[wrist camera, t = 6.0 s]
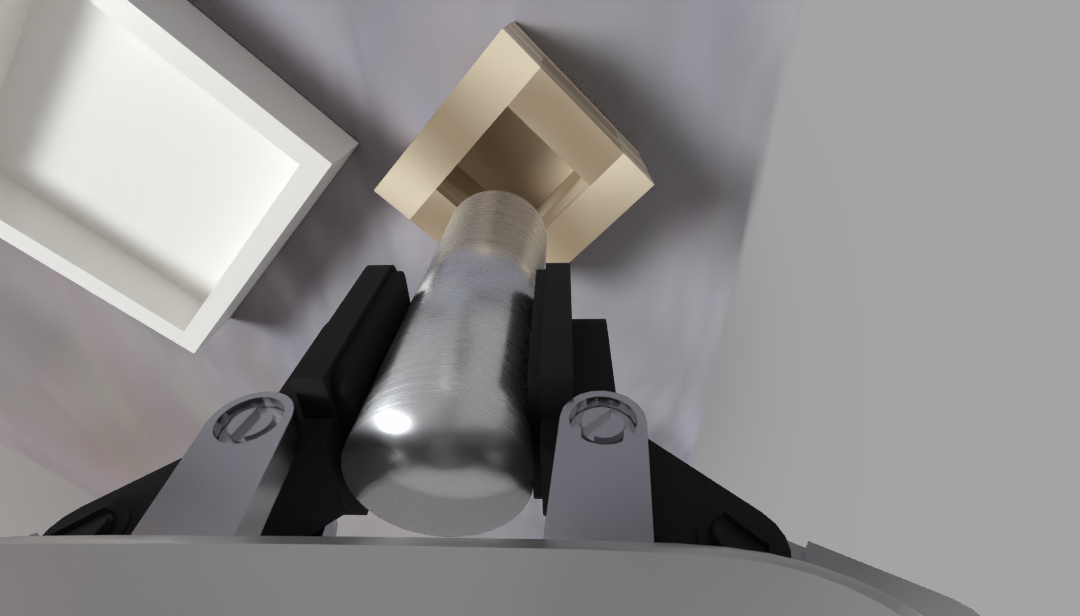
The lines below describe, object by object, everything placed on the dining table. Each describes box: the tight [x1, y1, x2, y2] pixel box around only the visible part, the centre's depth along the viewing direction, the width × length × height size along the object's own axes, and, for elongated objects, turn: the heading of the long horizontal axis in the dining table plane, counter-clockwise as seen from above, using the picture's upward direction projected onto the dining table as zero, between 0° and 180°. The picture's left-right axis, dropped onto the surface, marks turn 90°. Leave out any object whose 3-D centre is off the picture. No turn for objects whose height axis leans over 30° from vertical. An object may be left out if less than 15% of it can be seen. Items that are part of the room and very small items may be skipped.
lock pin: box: [341, 190, 547, 537], centre depth 12 cm, size 3×3×9 cm
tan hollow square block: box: [374, 21, 654, 268], centre depth 23 cm, size 8×8×5 cm
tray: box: [0, 0, 359, 353], centre depth 24 cm, size 14×14×4 cm
